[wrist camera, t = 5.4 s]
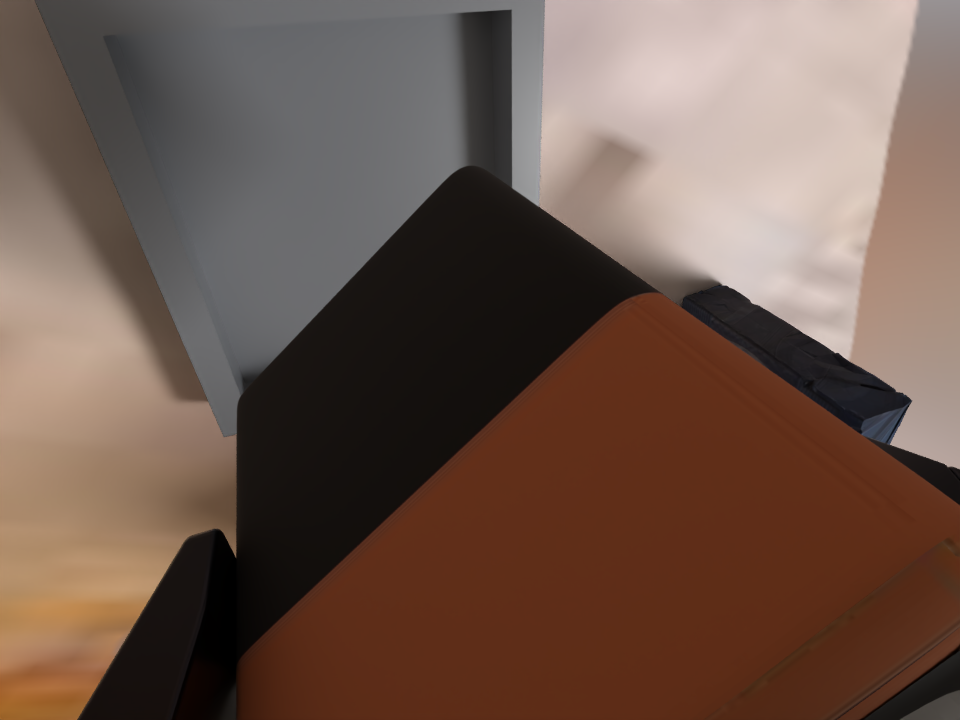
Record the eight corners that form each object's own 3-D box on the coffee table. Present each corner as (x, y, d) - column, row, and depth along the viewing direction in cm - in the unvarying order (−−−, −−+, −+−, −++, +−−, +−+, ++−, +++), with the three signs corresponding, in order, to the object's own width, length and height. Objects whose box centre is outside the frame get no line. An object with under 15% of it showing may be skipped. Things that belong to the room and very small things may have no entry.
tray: (515, 333, 23) (535, 357, 22) (224, 403, 20) (223, 437, 19) (515, -35, 16) (545, -38, 14) (52, -16, 13) (27, -17, 11)
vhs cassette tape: (680, 292, 26) (867, 420, 18) (730, 277, 27) (931, 394, 19) (643, 525, 37) (751, 667, 29) (680, 511, 38) (794, 645, 30)
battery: (224, 398, 11) (190, 1436, 3) (463, 146, 10) (1335, 733, 2) (381, 478, 13) (576, 1134, 6) (581, 285, 12) (1149, 766, 5)
